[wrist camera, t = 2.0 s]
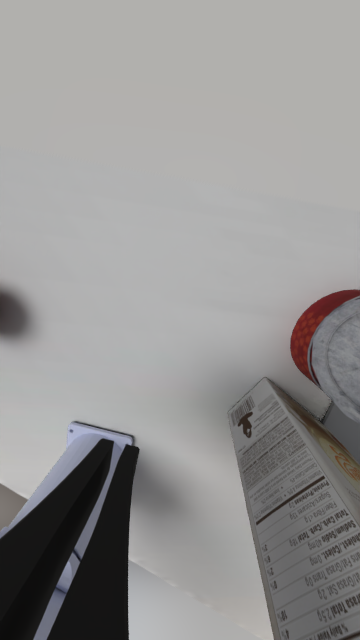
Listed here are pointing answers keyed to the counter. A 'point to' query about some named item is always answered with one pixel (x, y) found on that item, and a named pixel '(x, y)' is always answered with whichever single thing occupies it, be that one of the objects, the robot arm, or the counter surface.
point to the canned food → (332, 348)
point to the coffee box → (300, 515)
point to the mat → (344, 430)
